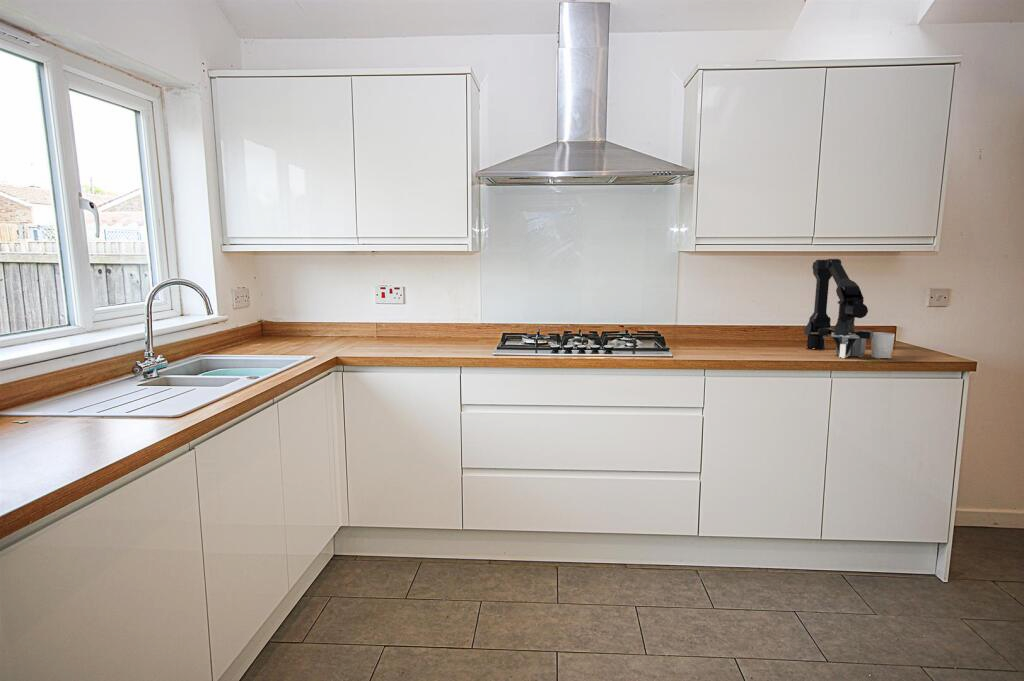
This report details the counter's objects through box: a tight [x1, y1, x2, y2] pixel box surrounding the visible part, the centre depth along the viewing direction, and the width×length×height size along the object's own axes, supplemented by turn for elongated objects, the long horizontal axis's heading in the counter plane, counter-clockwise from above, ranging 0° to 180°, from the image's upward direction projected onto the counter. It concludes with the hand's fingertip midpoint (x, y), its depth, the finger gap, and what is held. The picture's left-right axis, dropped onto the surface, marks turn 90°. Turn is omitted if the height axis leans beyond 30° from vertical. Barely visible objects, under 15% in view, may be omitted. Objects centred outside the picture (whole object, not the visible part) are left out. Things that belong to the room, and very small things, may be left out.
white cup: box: [870, 331, 896, 359], centre depth 236 cm, size 8×8×10 cm
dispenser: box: [835, 335, 867, 358], centre depth 243 cm, size 8×9×9 cm
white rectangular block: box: [838, 341, 852, 359], centre depth 239 cm, size 15×2×6 cm, turn 137°
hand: (843, 354), depth 235 cm, fingers closed on white rectangular block, 2 cm apart
